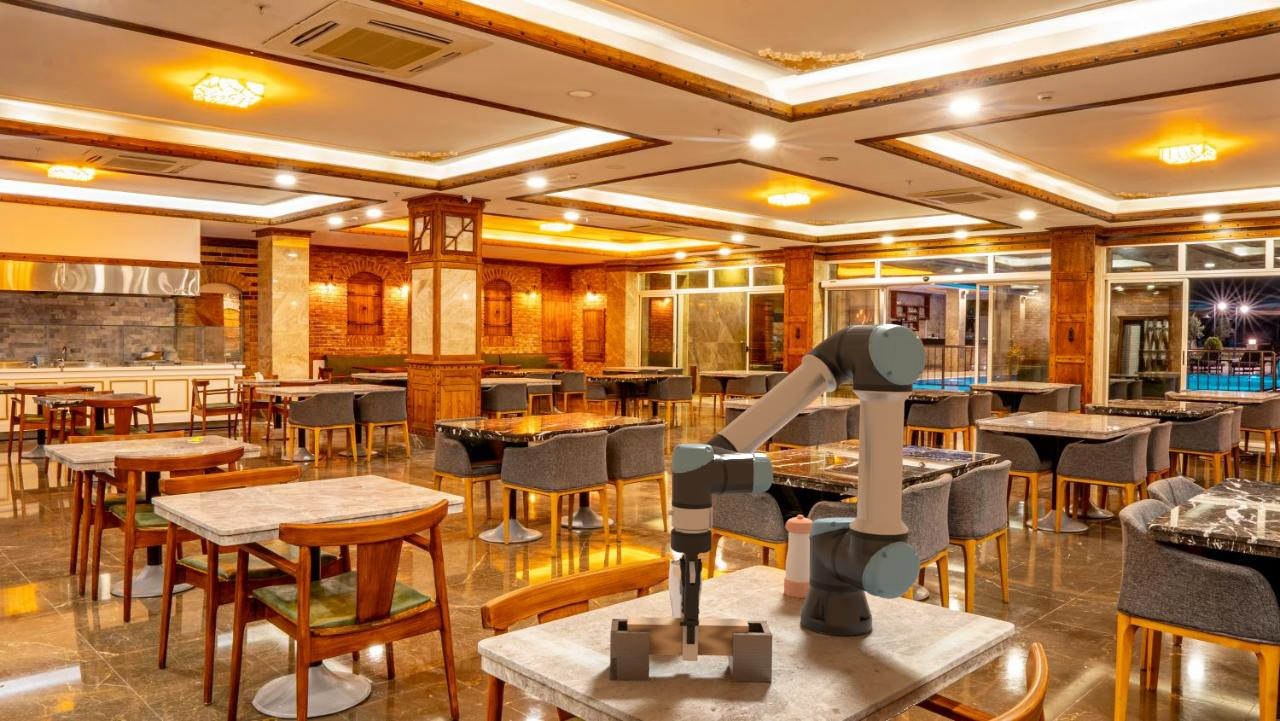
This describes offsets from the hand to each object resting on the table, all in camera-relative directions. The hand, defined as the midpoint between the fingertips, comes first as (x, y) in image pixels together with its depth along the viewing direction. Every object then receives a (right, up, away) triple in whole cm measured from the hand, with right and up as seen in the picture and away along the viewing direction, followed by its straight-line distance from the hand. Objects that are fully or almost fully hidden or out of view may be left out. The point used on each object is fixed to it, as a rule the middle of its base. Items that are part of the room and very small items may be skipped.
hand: (689, 654), depth 161 cm
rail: (0, +1, 0) cm, 1 cm away
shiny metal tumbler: (0, -3, +22) cm, 22 cm away
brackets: (0, -3, 0) cm, 3 cm away
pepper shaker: (+30, -3, +51) cm, 59 cm away
